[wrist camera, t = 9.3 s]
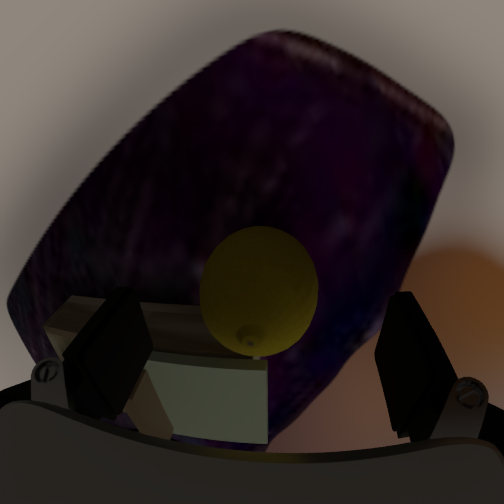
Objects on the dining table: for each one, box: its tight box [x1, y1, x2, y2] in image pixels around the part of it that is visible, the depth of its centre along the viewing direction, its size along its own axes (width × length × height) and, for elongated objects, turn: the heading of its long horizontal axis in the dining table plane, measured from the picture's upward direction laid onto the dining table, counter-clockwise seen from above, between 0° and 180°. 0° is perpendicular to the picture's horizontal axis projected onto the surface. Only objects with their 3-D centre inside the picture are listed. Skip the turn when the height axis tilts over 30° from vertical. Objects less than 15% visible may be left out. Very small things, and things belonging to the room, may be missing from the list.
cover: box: [124, 351, 268, 444], centre depth 15 cm, size 9×8×3 cm
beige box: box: [42, 295, 261, 412], centre depth 19 cm, size 9×16×4 cm, turn 93°
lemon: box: [199, 226, 318, 356], centre depth 13 cm, size 6×6×8 cm
